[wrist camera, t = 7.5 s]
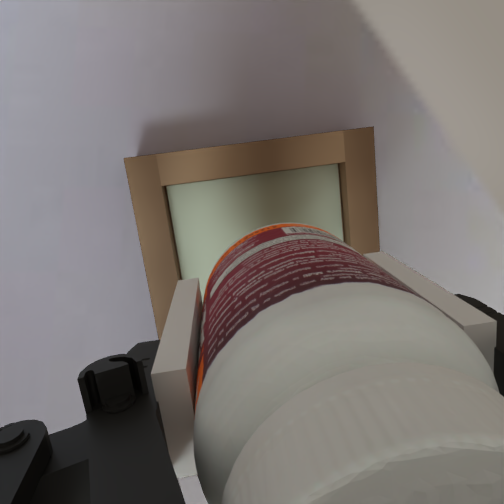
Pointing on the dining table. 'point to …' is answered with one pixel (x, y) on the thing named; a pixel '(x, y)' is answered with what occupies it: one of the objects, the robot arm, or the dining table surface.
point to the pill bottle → (337, 383)
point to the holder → (248, 200)
